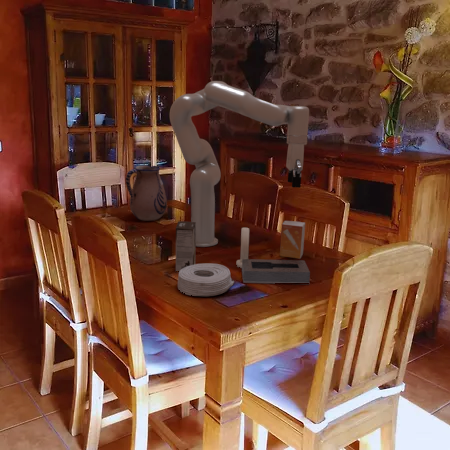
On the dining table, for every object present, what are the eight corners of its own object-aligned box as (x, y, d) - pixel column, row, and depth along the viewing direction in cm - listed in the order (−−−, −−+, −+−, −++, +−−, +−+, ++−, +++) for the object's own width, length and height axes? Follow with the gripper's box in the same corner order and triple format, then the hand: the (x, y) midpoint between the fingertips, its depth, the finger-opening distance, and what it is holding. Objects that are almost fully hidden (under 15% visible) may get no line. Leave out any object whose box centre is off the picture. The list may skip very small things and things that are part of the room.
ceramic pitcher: (174, 218, 255) (174, 166, 249) (145, 227, 238) (144, 172, 232) (146, 212, 264) (145, 162, 258) (116, 221, 247) (115, 168, 241)
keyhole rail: (243, 282, 176) (243, 270, 175) (241, 270, 187) (242, 259, 186) (309, 284, 176) (310, 272, 175) (303, 271, 188) (304, 260, 186)
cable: (236, 281, 177) (236, 264, 176) (224, 301, 161) (225, 283, 159) (186, 276, 181) (186, 259, 179) (169, 295, 165) (169, 277, 163)
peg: (236, 268, 189) (237, 230, 186) (236, 262, 195) (237, 226, 191) (252, 268, 189) (253, 230, 186) (251, 263, 195) (252, 226, 191)
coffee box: (178, 263, 192) (178, 220, 188) (195, 264, 192) (196, 221, 188) (175, 272, 184) (175, 227, 179) (193, 273, 183) (193, 228, 179)
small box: (279, 256, 203) (281, 223, 200) (282, 251, 209) (284, 220, 206) (300, 259, 201) (302, 226, 197) (303, 254, 207) (305, 222, 203)
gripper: (283, 137, 206) (280, 180, 210) (290, 142, 189) (287, 189, 194) (302, 137, 206) (299, 180, 211) (311, 142, 190) (308, 189, 194)
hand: (293, 184), depth 202 cm, fingers open, 9 cm apart
